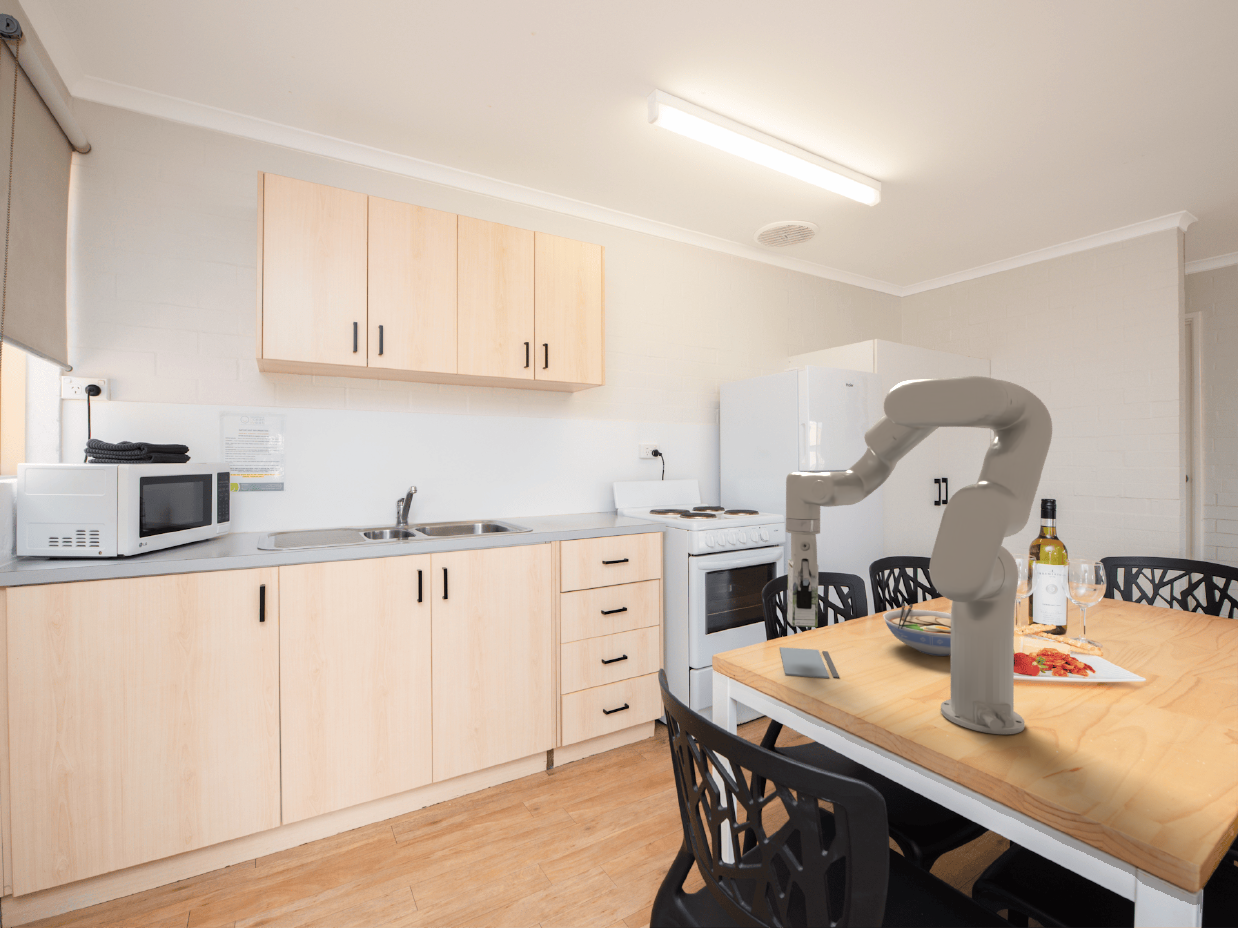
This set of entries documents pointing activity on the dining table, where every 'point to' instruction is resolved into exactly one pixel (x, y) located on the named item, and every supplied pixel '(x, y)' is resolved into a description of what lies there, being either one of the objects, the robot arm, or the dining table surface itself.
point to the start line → (830, 664)
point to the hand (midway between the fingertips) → (802, 603)
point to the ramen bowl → (921, 629)
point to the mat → (803, 662)
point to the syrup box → (793, 613)
